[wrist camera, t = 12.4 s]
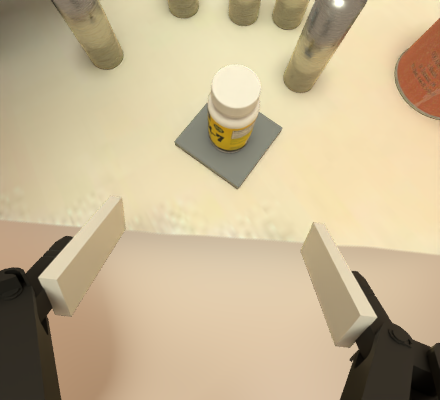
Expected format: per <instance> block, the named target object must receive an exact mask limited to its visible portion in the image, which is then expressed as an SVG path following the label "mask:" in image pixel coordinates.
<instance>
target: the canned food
mask: <svg viewBox="0 0 440 400" xmlns="http://www.w3.org/2000/svg"><path fill="white" fill-rule="evenodd" d="M395 80H396V84H397V87H398V90H399V92H400V94H401V95H402V97H403V98H404V99H405V101H406V102H407V103H408V104H409V105H410V106H411V107H412V108H414V109H415V110H416V111H418V112H420V113H421V114H423V115H425V116H428V117H431V118H434V119H439V120H440V18H439V19H438V20H437V21H436V22H435V23H434V24H433V25H432V26H431V27H430V28H429V29H428V30H427V31H426V32H425V33H424V34H423V35H422V36H421V37H420V38H419V39H418V40H417V41H416V42H415V43H414V44H413V45H412V46H411V47H410V48H409V49H407V50H406V51H405V52H404V53H403V54H402V55H401V56H400V58H399V59H398V61H397V64H396V67H395Z"/></svg>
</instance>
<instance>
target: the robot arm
mask: <svg viewBox="0 0 440 400" xmlns="http://www.w3.org/2000/svg"><path fill="white" fill-rule="evenodd" d="M125 229H126V227H125V219H124V210H123V202H122V197H117V196H110V197H109V198H108V199H107V200H106V201H105V202H104V203H103V204H102V206H101V207H100V208H99V209H98V210H97V211H96V212H95V214H94V215H93V216H92V217H91V218H90V219H89V220H88V222H87V223H86V224H85V225H84V226H83V227H82V228H81V230H80V231H79V232H78V233H77V234H76V235H75V236H74V237H71V236H65V237H63V238H62V239H60V240H58V241H57V242H55V243H54V244H53V245H52V247H51V248H50V249H49V251H47V252H46V253H45V254H44V255H43V257H41V258H40V259H39V260H38V261H37V262H36V263H35V264H34V265H33V266H32V267H31V269H29V270H28V272H27V273H26V274H25V272H24V270H23V269H21V268H8V269H4V270H1V271H0V400H61V396H60V389H59V383H58V377H57V371H56V365H55V358H54V352H53V346H52V340H51V334H50V328H49V321H48V318H47V314H48V313H49V311H50V310H51V309H53V311H54V313H55V315H61V316H72V315H73V313H74V311H75V310H76V308H77V307H78V305H79V304H80V302H81V300H82V299H83V297H84V295H85V294H86V292H87V291H88V289H89V287H90V286H91V284H92V283H93V281H94V279H95V278H96V276H97V274H98V273H99V271H100V270H101V268H102V266H103V265H104V263H105V262H106V260H107V258H108V257H109V255H110V253H111V252H112V250H113V248H114V247H115V245H116V244H117V242H118V240H119V239H120V237H121V235H122V234H123V232H124V231H125ZM301 254H302V256H303V259H304V262H305V265H306V267H307V270H308V273H309V276H310V278H311V281H312V284H313V286H314V289H315V292H316V295H317V297H318V300H319V303H320V306H321V308H322V311H323V314H324V316H325V319H326V322H327V325H328V328H329V330H330V333H331V336H332V338H333V341H334V344H335V346H339V347H348V348H350V347H351V346H352V345H353V343H355V342H356V344H357V346H358V348H359V350H358V351H357V352H356V353H355V354H354V355H353V356H352V357H351V358H350V361H351V362H352V360H353V363H352V366H351V369H350V372H349V375H348V378H347V381H346V384H345V387H344V390H343V393H342V395H341V398H340V400H440V343H436V344H435V345H434V346H432V347H430V346H427V345H425V344H422V343H420V342H417V341H415V340H413V339H412V338H411V337H410V335H409V334H408V333H407V332H406V331H404V330H403V329H402V328H401V327H400V326H398V325H396V324H393V323H392V322H391V320H390V319H389V317H388V315H387V314H386V312H385V311H384V309H383V308H382V306H381V304H380V302H379V301H378V299H377V297H376V296H375V294H374V293H373V291H372V289H370V286H369V285H368V283H367V281H366V279H365V278H364V277H362V276H361V275H360V274H359V273H358V272H357V271H351V270H350V268H349V267H348V265H347V263H346V261H345V260H344V258H343V256H342V254H341V252H340V251H339V249H338V247H337V245H336V244H335V242H334V240H333V238H332V237H331V235H330V233H329V231H328V229H327V228H326V226H325V224H323V223H315V222H313V224H312V226H311V229H310V231H309V233H308V235H307V238H306V240H305V242H304V244H303V246H302V249H301Z"/></svg>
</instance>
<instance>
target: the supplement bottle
mask: <svg viewBox="0 0 440 400" xmlns="http://www.w3.org/2000/svg"><path fill="white" fill-rule="evenodd" d="M260 92H261V83H260V80H259V78H258V76H257V74H256V73H255V72H254V71H253V70H251V69H250V68H248V67H246V66H243V65H239V64H232V65H227V66H225V67H223V68H221V69H220V70H218V71H217V72H216V74H215V75H214V77H213V80H212V85H211V92H210V94H209V97H208V103H207V109H208V134H209V139H210V141H211V143H212V144H213V146H214V147H215V148H217V149H218V150H220V151H222V152H225V153H234V152H237V151H239V150H241V149H242V148H244V147H245V145H246V144H247V142H248V140H249V138H250V135H251V132H252V130H253V127H254V124H255V121H256V118H257V116H258V113H259V108H260V101H259V96H260Z"/></svg>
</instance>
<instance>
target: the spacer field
mask: <svg viewBox="0 0 440 400" xmlns="http://www.w3.org/2000/svg"><path fill="white" fill-rule="evenodd" d="M51 1H52V2H53V4H54V5H55V7H56V8H57V10H58V11H59V13H60V14H61V16H62V17H63V19H64V20H65V22H66V23H67V25H68V26H69V28H70V29H71V31H72V32H73V34H74V35H75V37H76V38H77V40H78V41H79V43H80V44H81V46H82V47H83V49H84V50H85V52H86V53H87V55H88V56H89V58H90V59H91V61H92V62H93V64H94V65H95V66H96V67H98V68H100V69H112V68H114V67H116V66H118V65H119V64H120V63H121V61H122V59H123V51H122V49H121V46H120V44H119V42H118V40H117V38H116V36H115V34H114V32H113V29H112V27H111V25H110V23H109V21H108V19H107V17H106V14H105V12H104V10H103V8H102V6H101V4H100V2H99V0H51ZM309 1H310V0H276V3H275V7H274V10H273V14H272V18H273V21H274V23H275V24H276V25H277V26H278V27H280V28H282V29H287V30H290V29H294V28H296V27H298V26H299V25H300V23H301V21H302V18H303V16H304V13H305V11H306V8H307V6H308V3H309ZM366 2H367V0H315V2H314V5H313V7H312V9H311V12H310V14H309V16H308V19H307V21H306V23H305V26H304V28H303V30H302V33H301V35H300V38H299V40H298V42H297V45H296V47H295V49H294V52H293V54H292V56H291V59H290V61H289V63H288V66H287V68H286V70H285V73H284V83H285V85H286V86H287V87H288V88H289V89H290V90H292V91H294V92H298V93H303V92H307V91H309V90H310V89H311V88H312V87H313V85H314V84H315V82H316V81H317V79H318V77H319V76H320V74H321V73H322V71H323V70H324V68H325V67H326V65H327V63H328V62H329V60H330V59H331V57H332V56H333V54H334V53H335V51H336V49H337V48H338V46H339V45H340V43H341V42H342V40H343V39H344V37H345V35H346V34H347V32H348V31H349V29H350V28H351V26H352V25H353V23H354V21H355V20H356V18H357V17H358V15H359V14H360V12H361V11H362V9H363V7H364V6H365V4H366ZM260 3H261V0H229V17H230V19H231V20H232V21H233V22H234V23H235V24H237V25H241V26H247V25H251V24H253V23H254V22H255V21H256V20H257V18H258V13H259V8H260ZM168 5H169V9H170V11H171V13H172V14H173V15H175V16H176V17H179V18H189V17H191V16H193V15H195V14H196V12H197V11H198V8H199V2H198V0H168Z"/></svg>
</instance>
